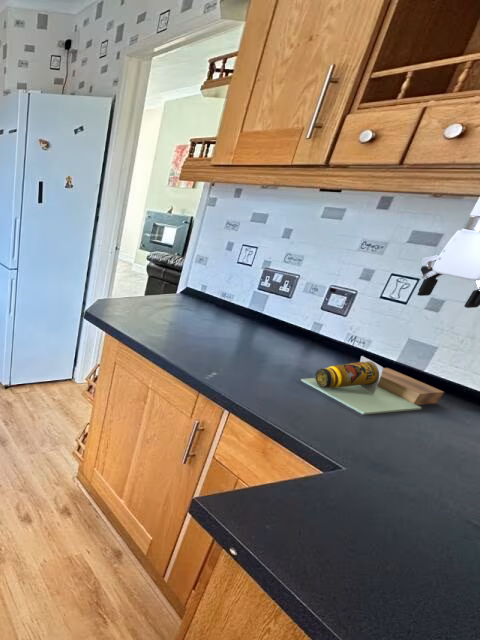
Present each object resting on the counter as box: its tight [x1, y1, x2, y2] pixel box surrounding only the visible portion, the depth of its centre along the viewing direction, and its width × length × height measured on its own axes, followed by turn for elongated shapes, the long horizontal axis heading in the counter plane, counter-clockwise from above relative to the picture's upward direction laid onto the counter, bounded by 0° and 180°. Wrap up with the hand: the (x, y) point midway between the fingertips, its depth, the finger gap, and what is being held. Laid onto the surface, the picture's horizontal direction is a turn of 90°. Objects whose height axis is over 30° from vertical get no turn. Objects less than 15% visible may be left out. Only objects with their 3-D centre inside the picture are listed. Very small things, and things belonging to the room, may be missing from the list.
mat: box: [300, 377, 423, 416], centre depth 112 cm, size 18×18×1 cm
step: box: [377, 367, 445, 406], centre depth 113 cm, size 8×14×4 cm, turn 10°
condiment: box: [314, 355, 384, 395], centre depth 113 cm, size 7×8×12 cm
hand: (445, 301), depth 99 cm, fingers open, 9 cm apart
